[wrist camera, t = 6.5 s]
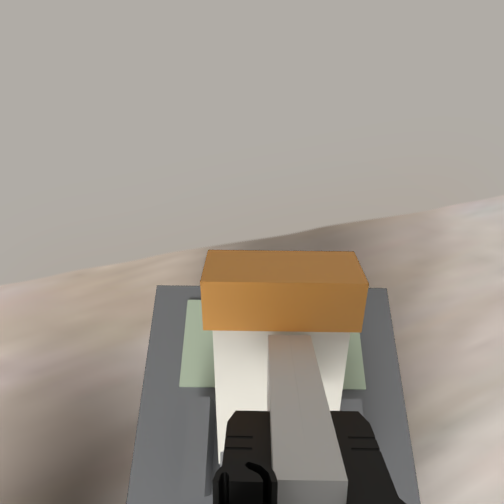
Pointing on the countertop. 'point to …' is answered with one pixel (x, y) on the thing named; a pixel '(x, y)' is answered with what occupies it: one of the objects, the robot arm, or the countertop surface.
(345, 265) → the lever
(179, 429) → the box
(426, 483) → the countertop surface
